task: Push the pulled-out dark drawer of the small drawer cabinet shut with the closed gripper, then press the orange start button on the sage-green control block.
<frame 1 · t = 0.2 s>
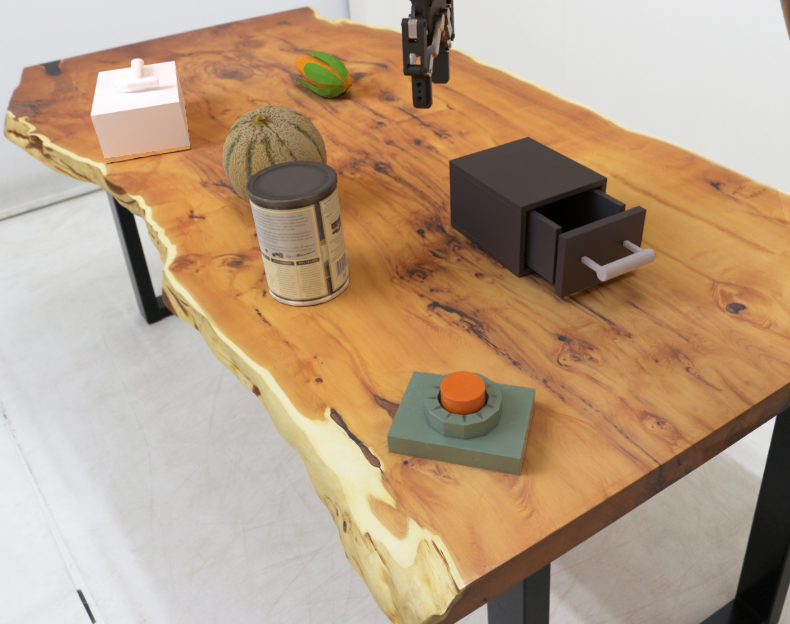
hand: (432, 94, 86), 19 cm above the table, tool pointing down, fingers open, 8 cm apart
small drawer cabinet: (522, 235, 94), on the table
control block: (463, 428, 67), on the table
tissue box: (149, 132, 134), on the table
coffee can: (309, 284, 89), on the table
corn: (321, 90, 146), on the table
cantaloupe: (283, 205, 106), on the table
start button: (462, 392, 64), point 4 cm above the table, slide at 0.1 cm
dark drawer: (574, 235, 84), point 5 cm above the table, slide at 6.0 cm
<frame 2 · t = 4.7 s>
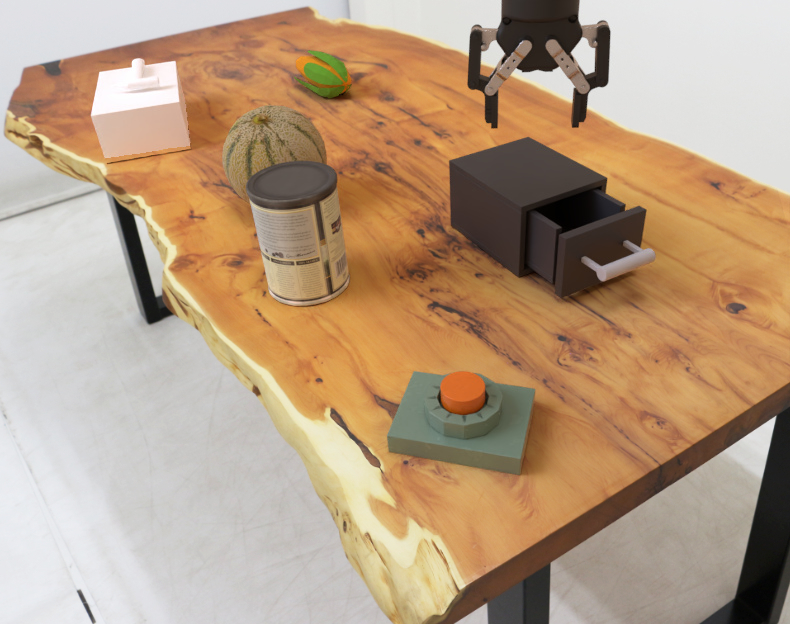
hand: (534, 125, 77), 18 cm above the table, tool pointing down, fingers open, 8 cm apart
nothing on the table moved.
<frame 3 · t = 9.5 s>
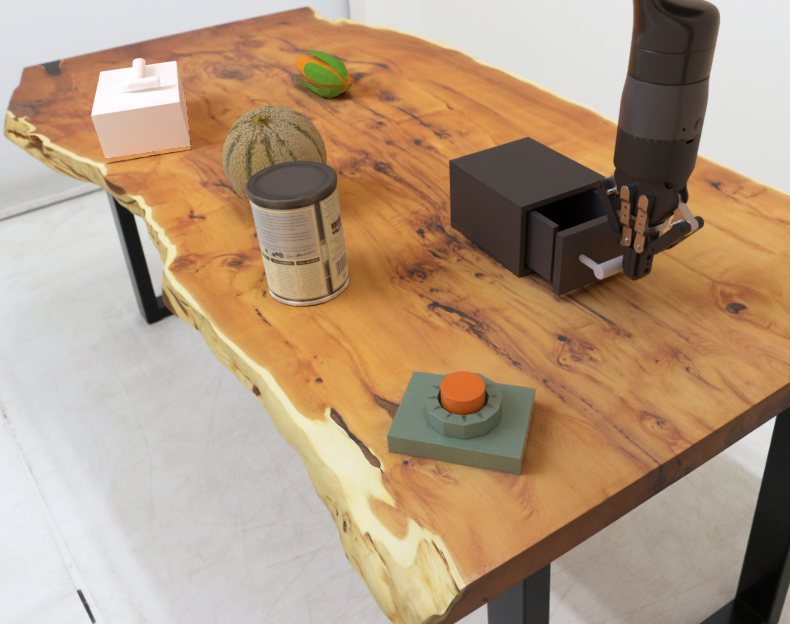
hand: (635, 275, 77), 5 cm above the table, tool pointing down, fingers closed
dark drawer: (571, 233, 84), point 5 cm above the table, slide at 5.5 cm, touching gripper
everything else where it was.
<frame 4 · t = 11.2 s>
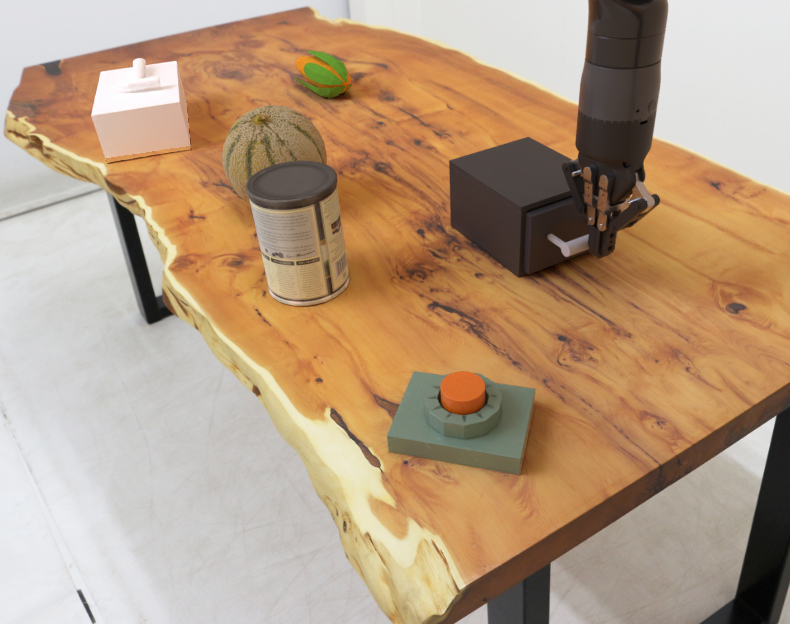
hand: (600, 254, 81), 5 cm above the table, tool pointing down, fingers closed
dark drawer: (542, 215, 88), point 5 cm above the table, slide at 0.0 cm, touching small drawer cabinet, gripper
everything else where it was.
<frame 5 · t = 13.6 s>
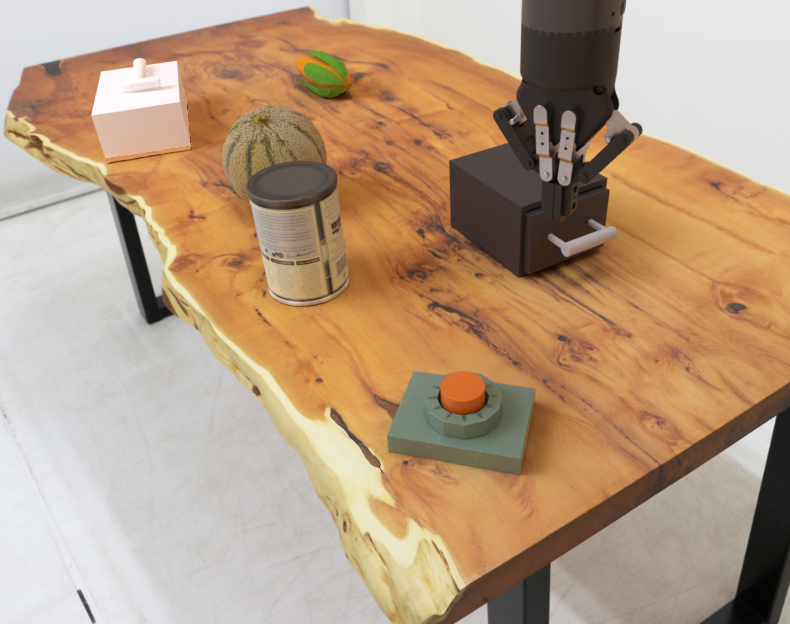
hand: (558, 216, 64), 17 cm above the table, tool pointing down, fingers closed
dark drawer: (542, 215, 88), point 5 cm above the table, slide at 0.0 cm
everything else where it was.
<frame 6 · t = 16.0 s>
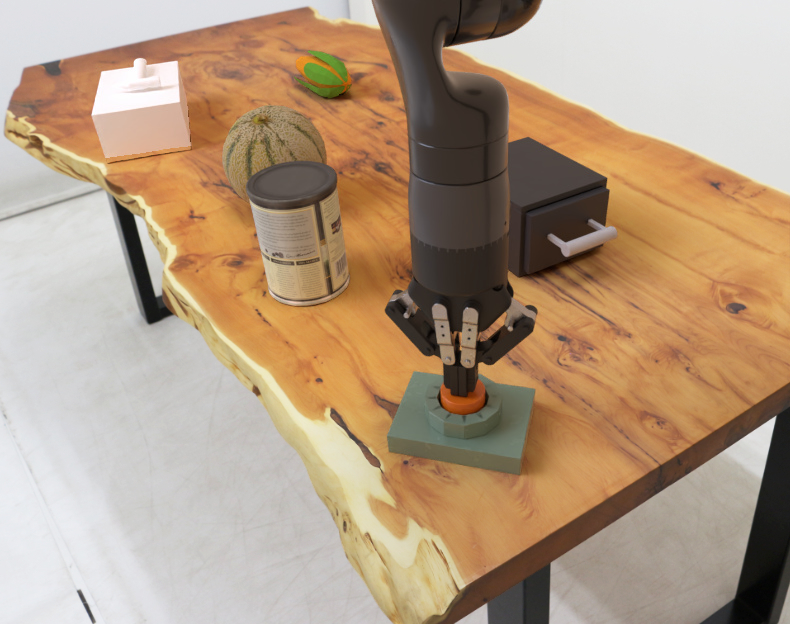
hand: (461, 389, 64), 5 cm above the table, tool pointing down, fingers closed
start button: (462, 396, 64), point 4 cm above the table, slide at -0.3 cm, touching gripper
everything else where it was.
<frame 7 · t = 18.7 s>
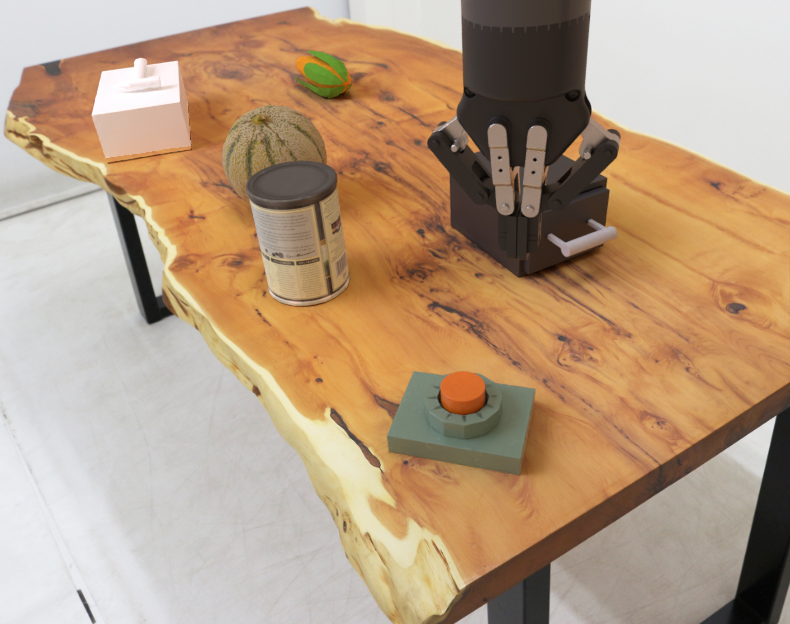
hand: (519, 253, 52), 21 cm above the table, tool pointing down, fingers closed
start button: (462, 392, 64), point 4 cm above the table, slide at 0.1 cm
everything else where it was.
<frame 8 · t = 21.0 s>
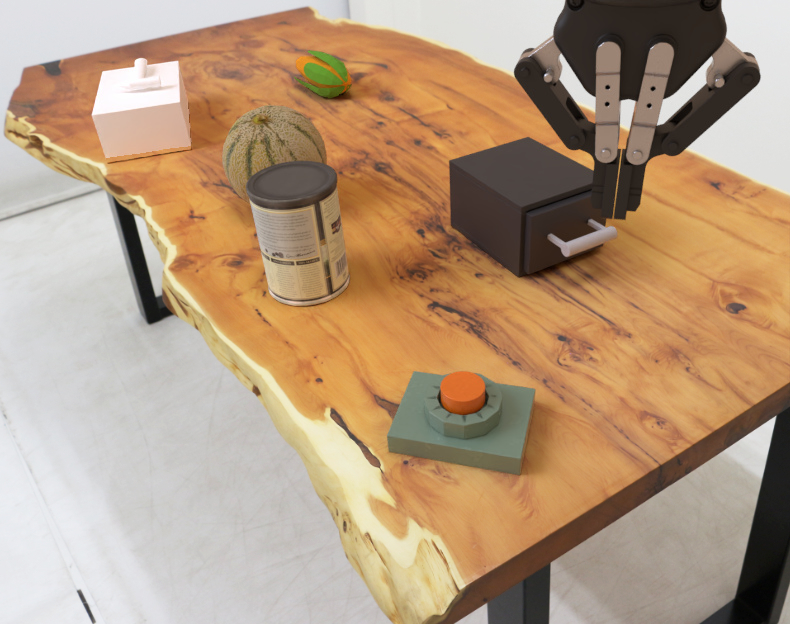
hand: (614, 213, 43), 27 cm above the table, tool pointing down, fingers closed
nothing on the table moved.
at the end: dark drawer slide at 0.0 cm; start button pushed in 1.1 cm at the most during the clip, back to where it started at the end; start button slide at 0.1 cm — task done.
